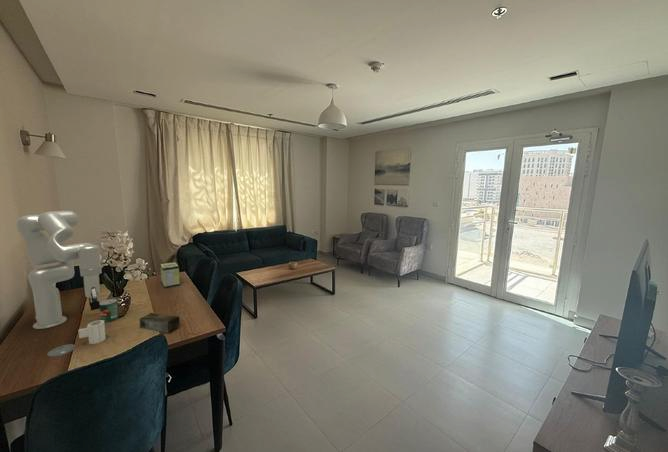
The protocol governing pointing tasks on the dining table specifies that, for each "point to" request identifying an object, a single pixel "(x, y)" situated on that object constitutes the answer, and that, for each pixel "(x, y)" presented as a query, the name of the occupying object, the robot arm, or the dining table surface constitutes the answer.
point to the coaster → (61, 350)
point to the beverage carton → (160, 322)
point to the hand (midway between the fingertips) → (94, 306)
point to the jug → (94, 332)
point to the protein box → (170, 275)
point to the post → (100, 342)
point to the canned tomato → (108, 310)
